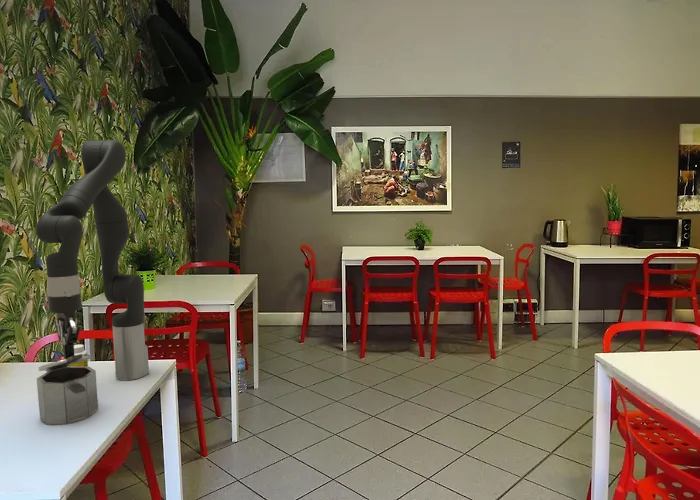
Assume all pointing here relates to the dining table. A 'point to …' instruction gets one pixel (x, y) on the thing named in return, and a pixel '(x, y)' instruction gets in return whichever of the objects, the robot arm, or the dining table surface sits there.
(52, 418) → the pot
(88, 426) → the dining table surface
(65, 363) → the lid
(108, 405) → the dining table surface
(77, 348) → the supplement bottle
